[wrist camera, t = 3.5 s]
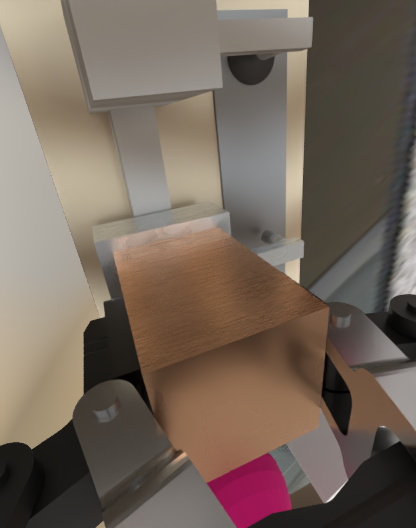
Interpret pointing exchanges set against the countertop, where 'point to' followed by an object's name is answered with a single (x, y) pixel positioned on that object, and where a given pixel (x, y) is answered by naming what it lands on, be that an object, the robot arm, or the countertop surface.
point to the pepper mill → (252, 491)
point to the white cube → (320, 459)
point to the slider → (217, 333)
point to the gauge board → (167, 110)
